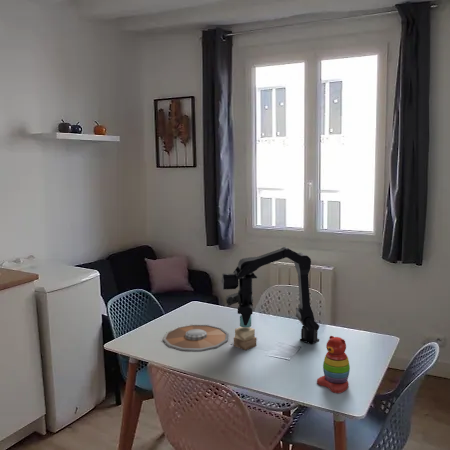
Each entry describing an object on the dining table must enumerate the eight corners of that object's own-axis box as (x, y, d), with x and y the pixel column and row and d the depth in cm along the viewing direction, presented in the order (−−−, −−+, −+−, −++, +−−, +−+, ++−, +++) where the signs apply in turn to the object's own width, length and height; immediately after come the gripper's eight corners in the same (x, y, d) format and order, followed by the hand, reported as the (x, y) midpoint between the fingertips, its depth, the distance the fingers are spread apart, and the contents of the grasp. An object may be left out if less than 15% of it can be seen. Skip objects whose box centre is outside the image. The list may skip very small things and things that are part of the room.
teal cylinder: (253, 325, 207) (253, 316, 206) (246, 328, 203) (246, 319, 203) (244, 322, 210) (245, 313, 210) (237, 325, 207) (237, 316, 206)
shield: (179, 317, 235) (237, 324, 226) (179, 323, 236) (237, 330, 226) (151, 340, 207) (215, 349, 198) (151, 347, 208) (216, 356, 198)
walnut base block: (256, 346, 208) (256, 337, 207) (245, 351, 203) (245, 342, 203) (244, 341, 213) (244, 333, 212) (233, 346, 208) (233, 337, 207)
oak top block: (254, 337, 207) (254, 329, 206) (244, 341, 203) (244, 332, 202) (244, 334, 211) (244, 325, 211) (235, 337, 207) (235, 328, 207)
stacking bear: (314, 382, 174) (315, 336, 172) (333, 375, 180) (334, 330, 178) (336, 394, 166) (338, 346, 163) (356, 386, 171) (358, 339, 169)
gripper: (228, 282, 214) (228, 315, 216) (225, 294, 196) (225, 330, 198) (253, 282, 213) (253, 316, 216) (252, 294, 195) (252, 331, 197)
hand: (245, 323), depth 207 cm, fingers closed on teal cylinder, 5 cm apart
